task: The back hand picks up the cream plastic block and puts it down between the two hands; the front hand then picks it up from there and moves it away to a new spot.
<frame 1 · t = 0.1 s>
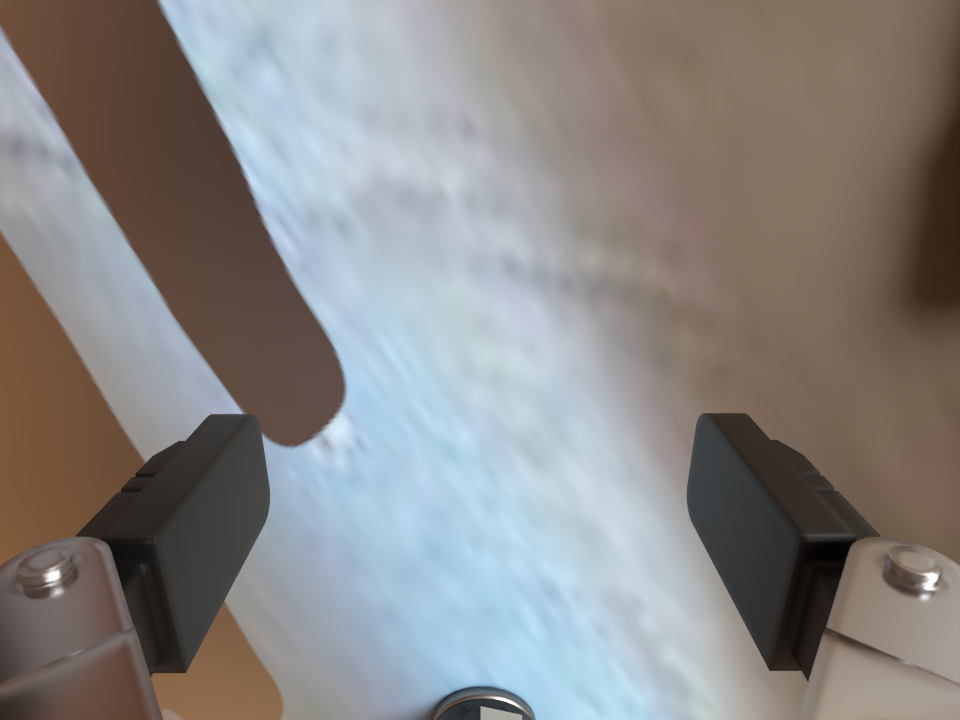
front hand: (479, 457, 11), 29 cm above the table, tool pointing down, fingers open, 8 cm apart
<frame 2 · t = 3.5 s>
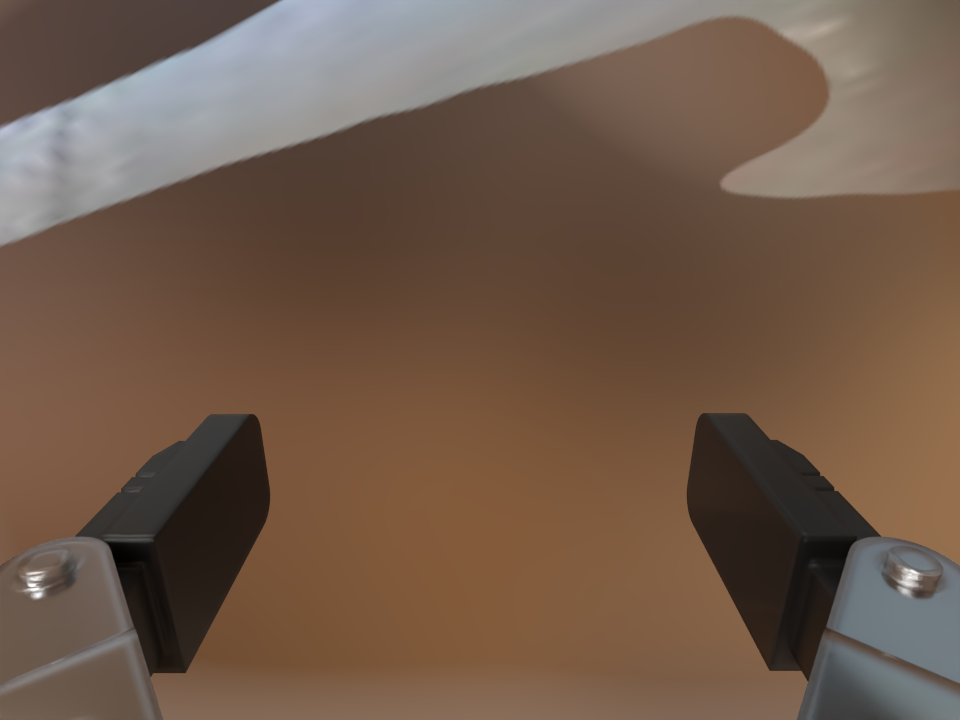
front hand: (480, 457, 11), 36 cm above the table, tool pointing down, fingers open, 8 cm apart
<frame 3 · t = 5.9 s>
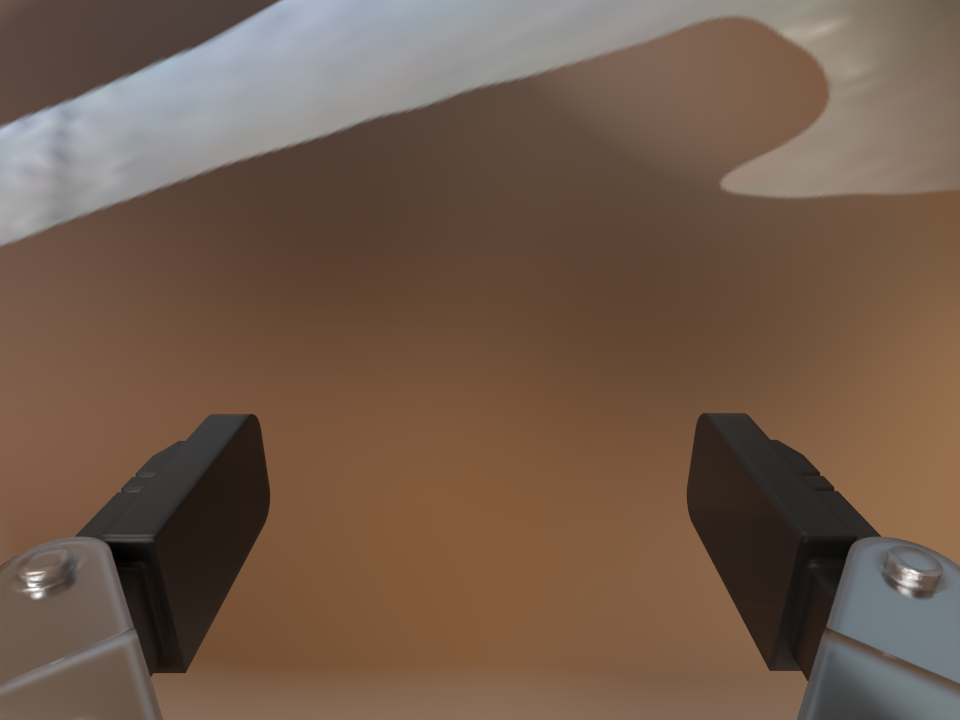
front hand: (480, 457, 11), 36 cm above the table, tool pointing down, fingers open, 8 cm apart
when the back hand's fingers open (1 cm above the table, at t = 8.6 s): block stays where it is, on the table.
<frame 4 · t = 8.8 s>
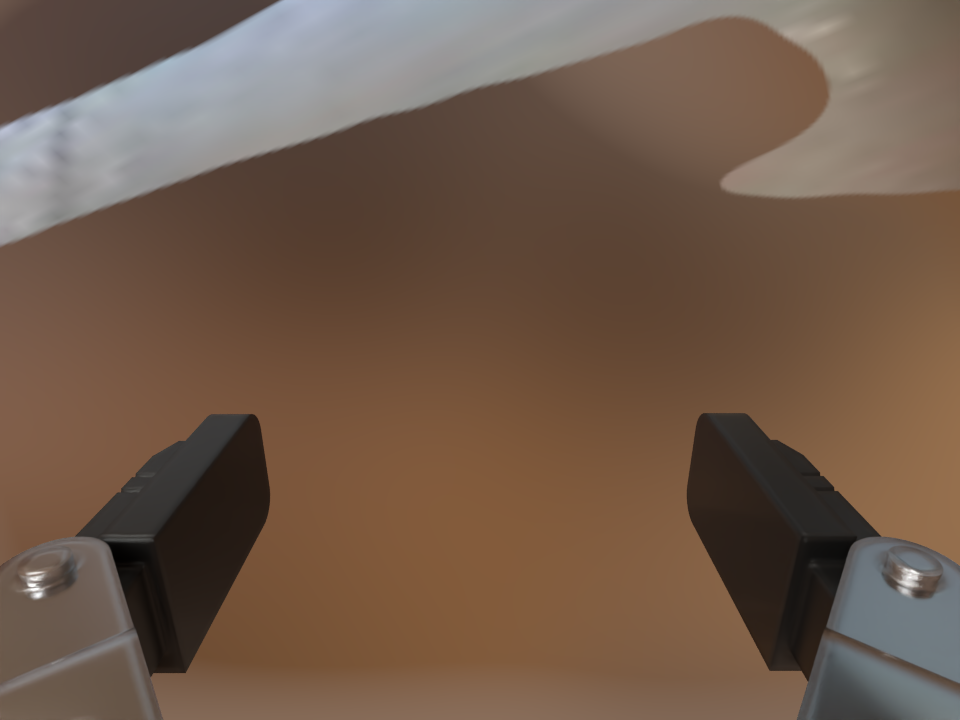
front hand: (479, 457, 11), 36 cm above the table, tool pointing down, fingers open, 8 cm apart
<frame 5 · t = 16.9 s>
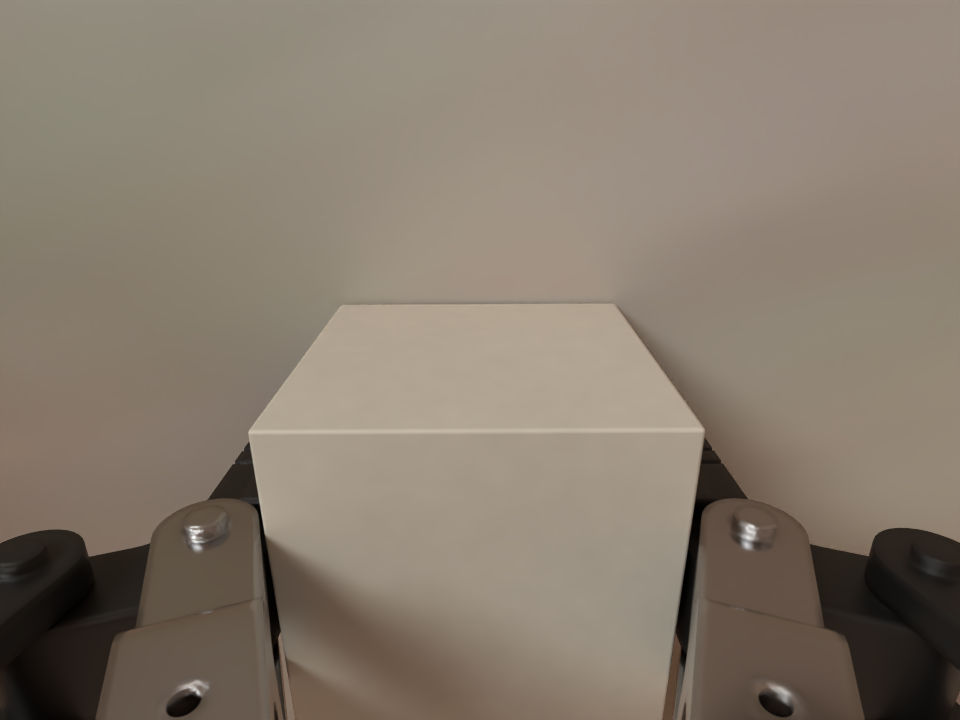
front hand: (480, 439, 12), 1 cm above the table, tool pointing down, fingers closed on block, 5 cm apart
block: (478, 425, 12), on the table, touching front hand
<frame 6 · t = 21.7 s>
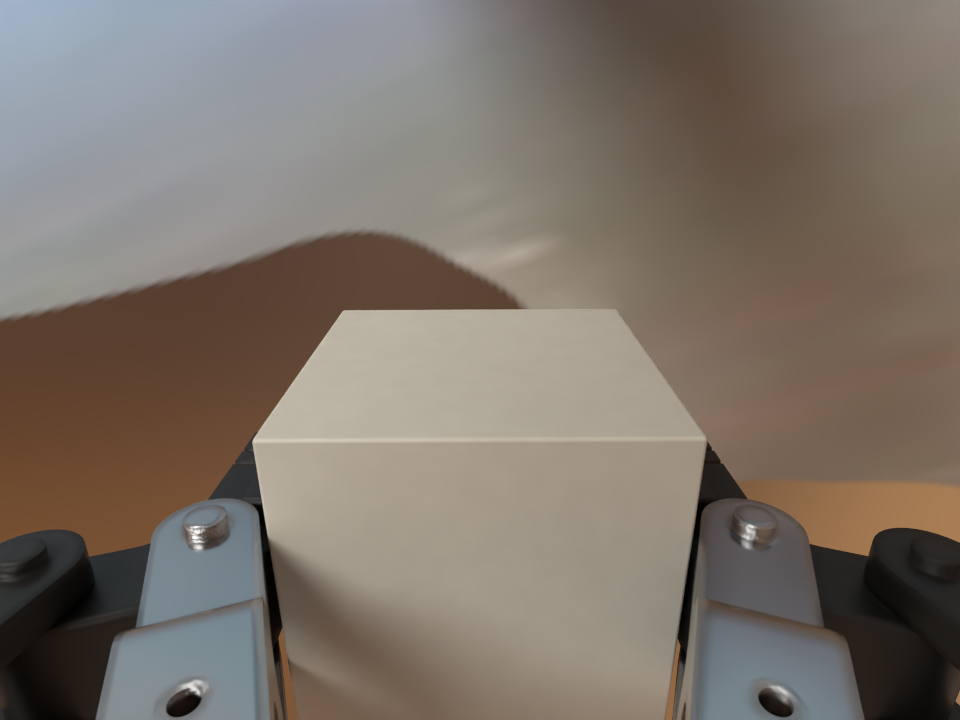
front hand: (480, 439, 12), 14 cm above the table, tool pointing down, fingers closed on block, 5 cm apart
block: (480, 430, 12), point 13 cm above the table, touching front hand
when the front hand's fingers open (1 cm above the table, at t = 26.8 s): block stays where it is, on the table.
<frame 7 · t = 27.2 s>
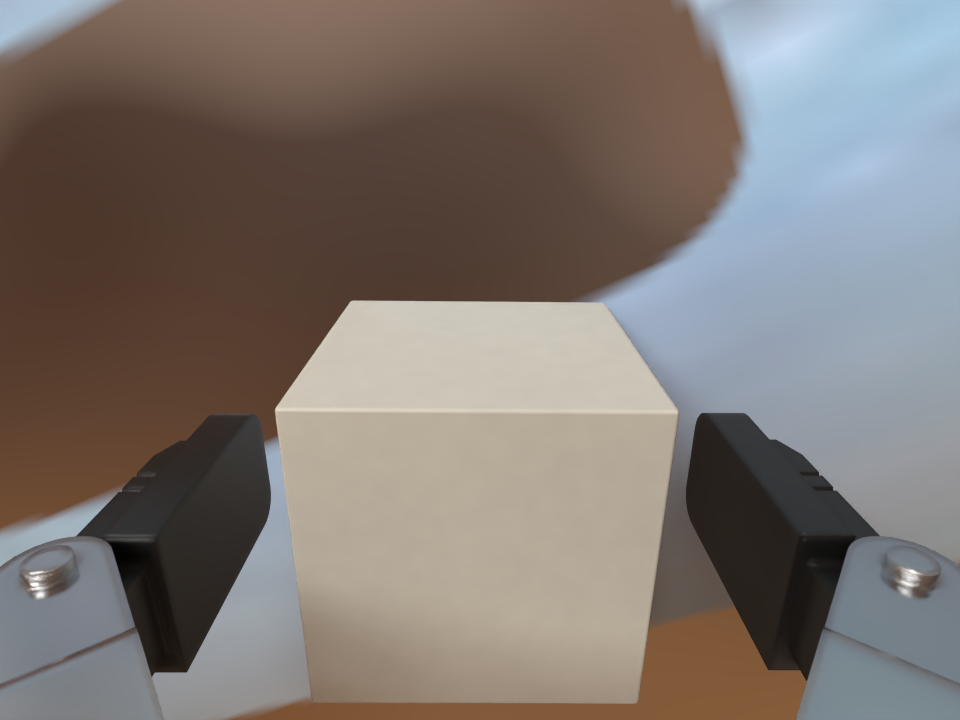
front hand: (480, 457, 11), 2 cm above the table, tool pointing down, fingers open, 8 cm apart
block: (477, 415, 13), on the table
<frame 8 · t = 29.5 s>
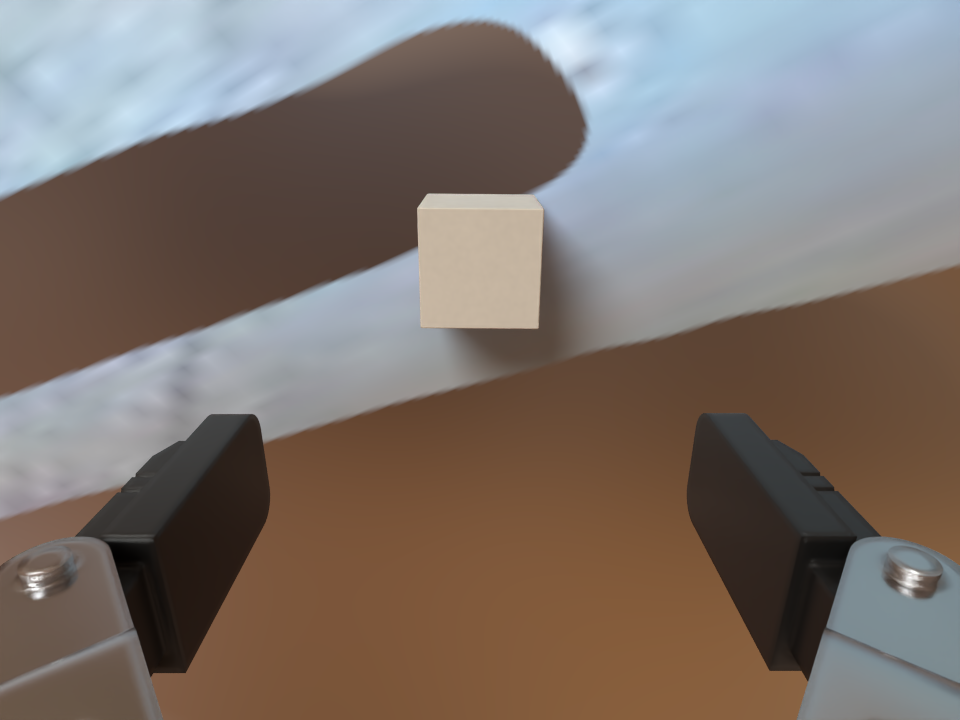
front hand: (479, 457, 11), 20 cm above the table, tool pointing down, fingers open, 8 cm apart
block: (480, 247, 30), on the table
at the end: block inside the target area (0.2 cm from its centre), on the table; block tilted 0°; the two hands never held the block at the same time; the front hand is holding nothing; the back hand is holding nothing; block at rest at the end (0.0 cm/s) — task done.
